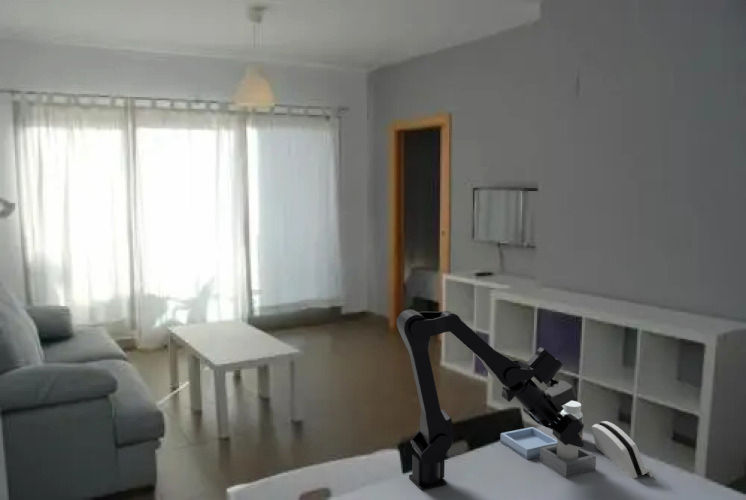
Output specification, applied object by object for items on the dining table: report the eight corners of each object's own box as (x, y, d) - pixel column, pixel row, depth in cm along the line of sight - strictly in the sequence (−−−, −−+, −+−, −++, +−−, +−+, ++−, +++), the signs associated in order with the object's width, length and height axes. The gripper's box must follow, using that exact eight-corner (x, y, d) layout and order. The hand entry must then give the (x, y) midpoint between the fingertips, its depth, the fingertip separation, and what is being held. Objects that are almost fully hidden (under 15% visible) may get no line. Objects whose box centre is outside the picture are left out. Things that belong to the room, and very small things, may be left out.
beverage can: (556, 469, 137) (558, 420, 136) (556, 460, 142) (557, 413, 140) (578, 472, 136) (579, 422, 134) (577, 463, 140) (578, 415, 139)
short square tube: (565, 478, 133) (566, 463, 132) (539, 461, 141) (539, 448, 141) (595, 470, 136) (596, 456, 136) (568, 455, 145) (568, 441, 144)
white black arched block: (653, 477, 133) (641, 438, 132) (635, 485, 133) (623, 446, 132) (614, 446, 150) (603, 411, 148) (597, 452, 149) (586, 418, 148)
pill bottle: (581, 436, 156) (582, 400, 155) (583, 445, 150) (584, 408, 149) (559, 434, 157) (560, 398, 156) (560, 442, 152) (561, 406, 151)
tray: (526, 459, 142) (527, 449, 142) (500, 442, 152) (500, 433, 152) (560, 451, 146) (560, 442, 146) (532, 435, 156) (532, 426, 156)
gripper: (577, 385, 126) (619, 429, 130) (535, 361, 145) (574, 400, 148) (543, 422, 126) (587, 466, 129) (505, 393, 144) (545, 433, 147)
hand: (573, 439), depth 138 cm, fingers open, 7 cm apart
